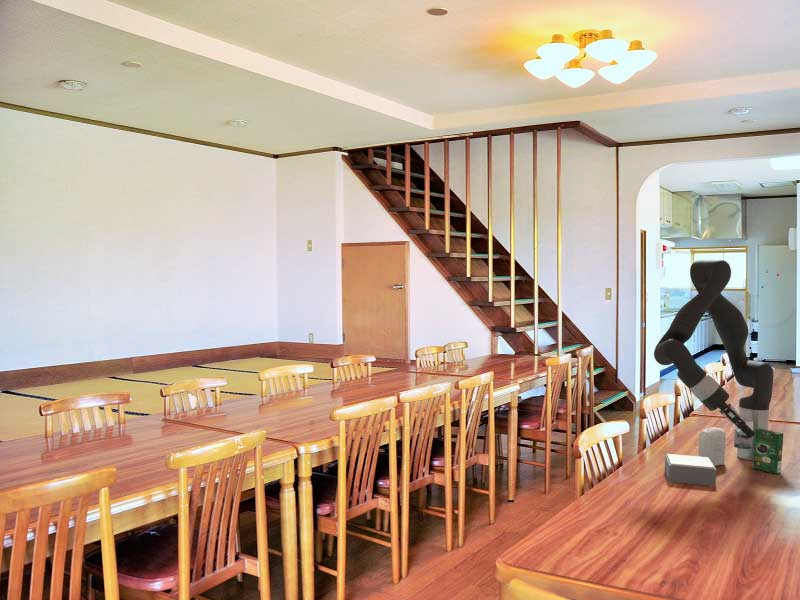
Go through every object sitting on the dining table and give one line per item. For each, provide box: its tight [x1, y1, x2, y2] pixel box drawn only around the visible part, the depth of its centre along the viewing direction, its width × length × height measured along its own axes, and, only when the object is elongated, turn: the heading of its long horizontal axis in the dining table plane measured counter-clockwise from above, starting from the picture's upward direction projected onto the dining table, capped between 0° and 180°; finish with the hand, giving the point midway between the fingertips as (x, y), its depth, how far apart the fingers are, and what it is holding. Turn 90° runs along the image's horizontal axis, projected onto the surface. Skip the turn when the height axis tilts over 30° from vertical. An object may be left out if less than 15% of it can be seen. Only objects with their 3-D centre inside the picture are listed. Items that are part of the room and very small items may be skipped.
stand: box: [664, 453, 717, 487], centre depth 214 cm, size 13×13×6 cm
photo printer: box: [698, 426, 727, 467], centre depth 230 cm, size 10×4×12 cm, turn 123°
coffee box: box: [752, 428, 784, 475], centre depth 223 cm, size 8×3×13 cm, turn 33°
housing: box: [733, 419, 753, 449], centre depth 212 cm, size 5×5×8 cm
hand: (750, 433), depth 211 cm, fingers closed on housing, 5 cm apart
